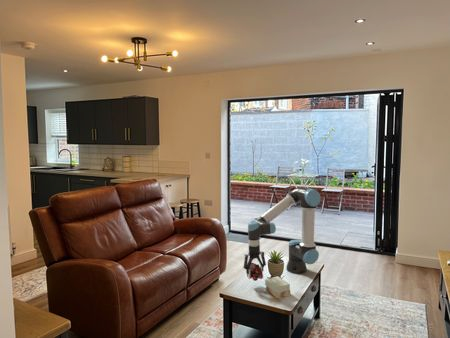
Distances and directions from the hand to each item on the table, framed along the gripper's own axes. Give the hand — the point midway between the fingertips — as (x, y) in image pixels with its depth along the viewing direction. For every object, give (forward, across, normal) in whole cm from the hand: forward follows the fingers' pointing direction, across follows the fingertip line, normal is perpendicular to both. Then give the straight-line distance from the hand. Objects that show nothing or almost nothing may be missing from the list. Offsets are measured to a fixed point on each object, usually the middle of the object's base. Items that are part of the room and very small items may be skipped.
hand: (255, 277), depth 239 cm
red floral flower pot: (+1, 0, 0) cm, 1 cm away
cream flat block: (+3, -9, +14) cm, 17 cm away
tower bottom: (+7, -10, +14) cm, 19 cm away
